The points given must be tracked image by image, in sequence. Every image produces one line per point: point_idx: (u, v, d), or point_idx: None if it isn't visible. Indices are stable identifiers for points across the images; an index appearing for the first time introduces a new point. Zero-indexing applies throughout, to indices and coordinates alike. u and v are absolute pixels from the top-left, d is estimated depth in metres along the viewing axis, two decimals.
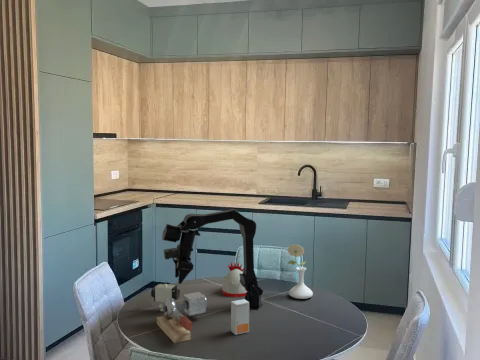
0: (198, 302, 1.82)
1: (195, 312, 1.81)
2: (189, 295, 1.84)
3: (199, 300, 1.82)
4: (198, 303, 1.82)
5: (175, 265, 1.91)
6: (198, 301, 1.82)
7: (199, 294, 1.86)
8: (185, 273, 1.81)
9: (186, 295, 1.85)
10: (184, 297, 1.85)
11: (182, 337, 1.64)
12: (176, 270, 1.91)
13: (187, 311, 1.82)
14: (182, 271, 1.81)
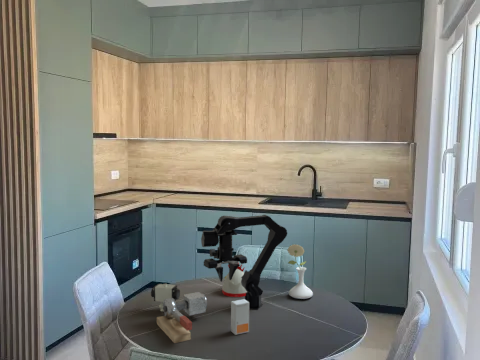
0: (198, 302, 1.82)
1: (195, 312, 1.81)
2: (189, 295, 1.84)
3: (199, 300, 1.82)
4: (198, 303, 1.82)
5: (229, 268, 1.96)
6: (198, 301, 1.82)
7: (199, 294, 1.86)
8: (219, 271, 1.91)
9: (186, 295, 1.85)
10: (184, 297, 1.85)
11: (182, 337, 1.64)
12: (229, 273, 1.95)
13: (187, 311, 1.82)
14: (218, 269, 1.92)
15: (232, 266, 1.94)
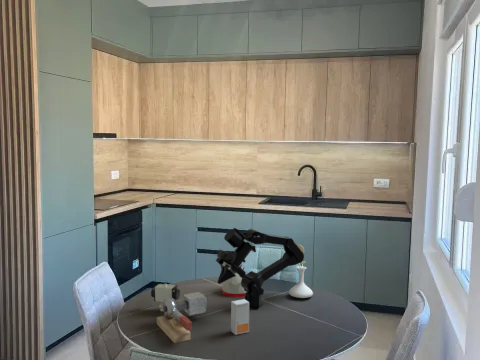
0: (198, 302, 1.82)
1: (195, 312, 1.81)
2: (189, 295, 1.84)
3: (199, 300, 1.82)
4: (198, 303, 1.82)
5: (222, 271, 1.91)
6: (198, 301, 1.82)
7: (199, 294, 1.86)
8: (228, 276, 1.90)
9: (186, 295, 1.85)
10: (184, 297, 1.85)
11: (182, 337, 1.64)
12: None
13: (187, 311, 1.82)
14: (227, 273, 1.90)
15: None
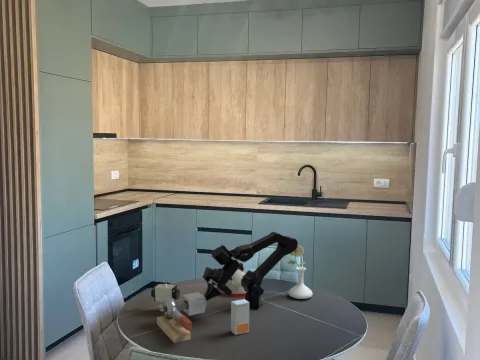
0: (198, 302, 1.82)
1: (194, 312, 1.81)
2: (188, 295, 1.84)
3: (199, 300, 1.82)
4: (197, 303, 1.82)
5: (208, 289, 1.88)
6: (197, 301, 1.82)
7: (198, 294, 1.86)
8: (214, 294, 1.87)
9: (185, 295, 1.84)
10: (183, 297, 1.85)
11: (182, 337, 1.64)
12: None
13: (186, 311, 1.82)
14: (213, 291, 1.87)
15: None
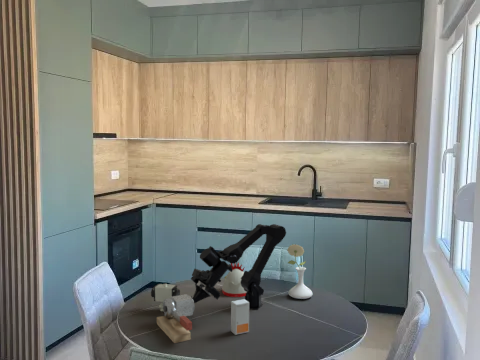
0: (185, 305, 1.79)
1: None
2: (176, 297, 1.82)
3: (187, 302, 1.79)
4: (185, 305, 1.79)
5: (196, 291, 1.85)
6: (185, 303, 1.79)
7: (186, 296, 1.83)
8: (203, 296, 1.84)
9: (173, 297, 1.82)
10: None
11: (182, 337, 1.64)
12: None
13: None
14: (201, 293, 1.84)
15: None
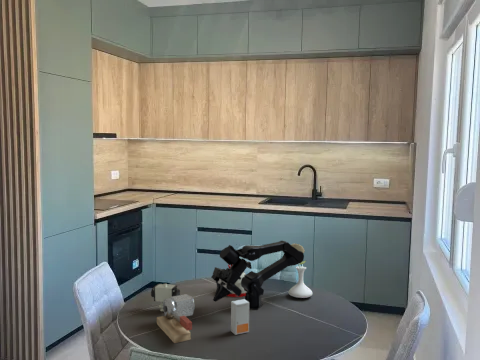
0: (186, 305, 1.79)
1: None
2: (176, 297, 1.82)
3: (187, 302, 1.79)
4: (185, 305, 1.79)
5: (218, 289, 1.90)
6: (185, 303, 1.79)
7: (187, 296, 1.83)
8: (224, 294, 1.89)
9: (173, 297, 1.82)
10: None
11: (182, 337, 1.64)
12: None
13: None
14: (222, 291, 1.89)
15: None
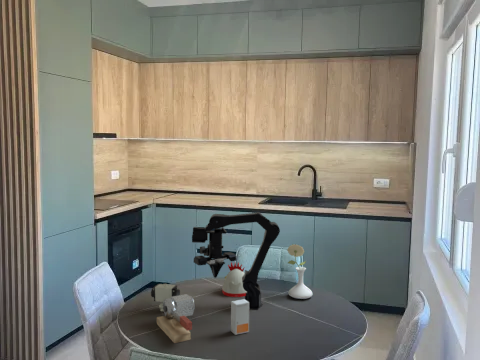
0: (186, 305, 1.79)
1: None
2: (176, 297, 1.82)
3: (187, 302, 1.79)
4: (185, 305, 1.79)
5: None
6: (185, 303, 1.79)
7: (187, 296, 1.83)
8: (213, 267, 1.95)
9: (173, 297, 1.82)
10: None
11: (182, 337, 1.64)
12: None
13: None
14: (212, 265, 1.97)
15: (217, 264, 1.96)
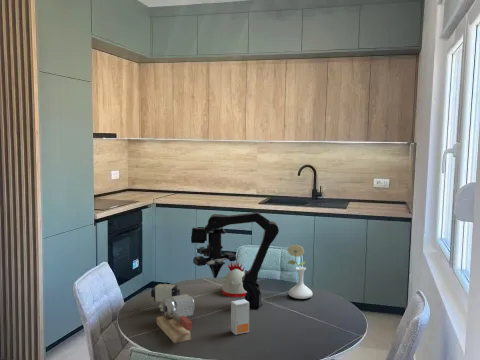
0: (186, 305, 1.79)
1: None
2: (176, 297, 1.82)
3: (187, 302, 1.79)
4: (185, 305, 1.79)
5: None
6: (185, 303, 1.79)
7: (187, 296, 1.83)
8: (212, 268, 1.96)
9: (173, 297, 1.82)
10: None
11: (182, 337, 1.64)
12: None
13: None
14: (211, 266, 1.97)
15: (217, 264, 1.97)
